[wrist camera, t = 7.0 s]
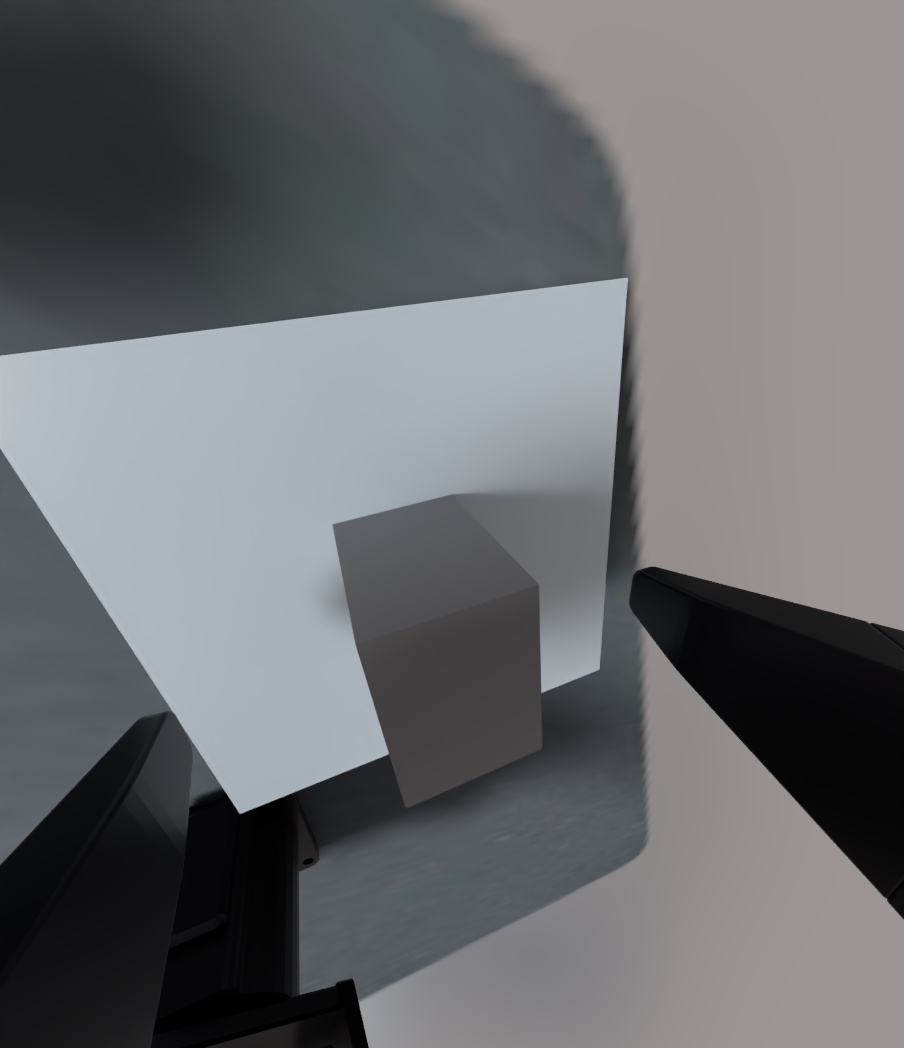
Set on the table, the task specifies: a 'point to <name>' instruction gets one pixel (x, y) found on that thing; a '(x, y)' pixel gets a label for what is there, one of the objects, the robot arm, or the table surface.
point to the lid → (342, 524)
